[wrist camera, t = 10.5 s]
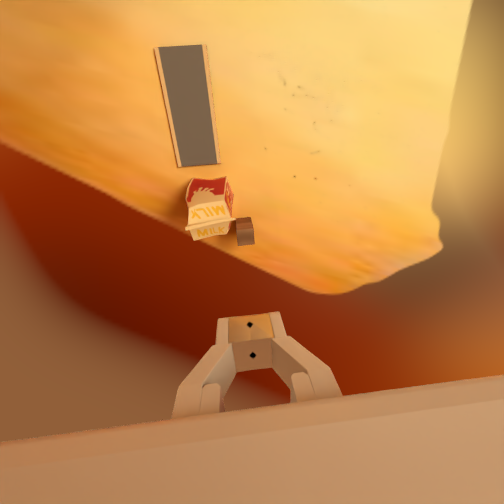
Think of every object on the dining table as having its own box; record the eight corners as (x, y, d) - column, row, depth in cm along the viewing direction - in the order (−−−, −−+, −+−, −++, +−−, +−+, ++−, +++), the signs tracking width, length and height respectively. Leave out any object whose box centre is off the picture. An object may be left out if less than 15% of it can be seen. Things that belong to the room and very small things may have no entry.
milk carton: (196, 219, 51) (176, 258, 33) (190, 177, 47) (165, 196, 29) (235, 217, 52) (237, 254, 34) (233, 176, 48) (234, 193, 30)
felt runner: (154, 48, 38) (153, 47, 38) (206, 45, 38) (206, 44, 38) (178, 166, 46) (178, 166, 46) (220, 163, 47) (220, 163, 46)
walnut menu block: (235, 218, 52) (236, 230, 45) (250, 217, 52) (253, 228, 45) (237, 232, 53) (237, 245, 46) (251, 231, 54) (254, 244, 46)
